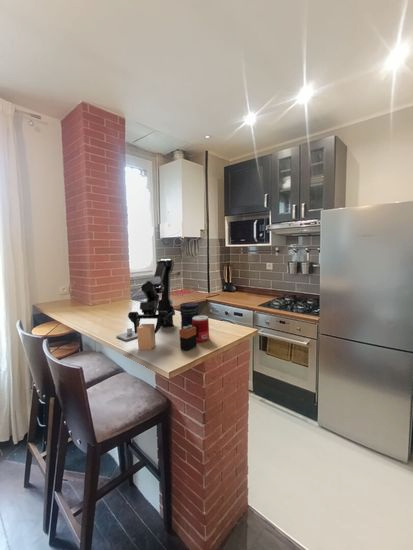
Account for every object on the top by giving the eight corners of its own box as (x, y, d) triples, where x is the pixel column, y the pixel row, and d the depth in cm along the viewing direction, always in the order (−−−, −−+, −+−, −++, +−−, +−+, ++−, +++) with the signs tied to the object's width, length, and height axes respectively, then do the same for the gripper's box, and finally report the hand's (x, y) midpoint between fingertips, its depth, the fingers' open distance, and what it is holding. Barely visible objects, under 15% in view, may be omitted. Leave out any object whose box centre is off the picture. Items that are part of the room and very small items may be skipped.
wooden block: (143, 344, 122) (142, 323, 121) (155, 344, 121) (154, 323, 120) (138, 349, 116) (136, 327, 115) (151, 349, 115) (149, 327, 114)
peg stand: (133, 332, 141) (133, 324, 141) (143, 336, 134) (143, 327, 134) (116, 337, 134) (115, 329, 133) (126, 341, 127) (125, 332, 126)
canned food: (211, 337, 127) (210, 315, 126) (206, 343, 120) (204, 320, 119) (196, 336, 130) (195, 314, 129) (190, 341, 123) (189, 319, 121)
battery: (179, 349, 114) (178, 327, 113) (189, 344, 119) (188, 323, 118) (187, 351, 111) (186, 328, 110) (197, 346, 117) (196, 324, 116)
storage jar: (203, 329, 140) (201, 302, 139) (194, 335, 131) (193, 306, 130) (187, 328, 144) (185, 301, 143) (177, 333, 135) (176, 305, 134)
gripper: (127, 295, 121) (118, 324, 112) (166, 294, 119) (160, 324, 109) (135, 307, 130) (128, 336, 120) (172, 307, 127) (167, 336, 118)
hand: (145, 333), depth 116 cm, fingers open, 9 cm apart
